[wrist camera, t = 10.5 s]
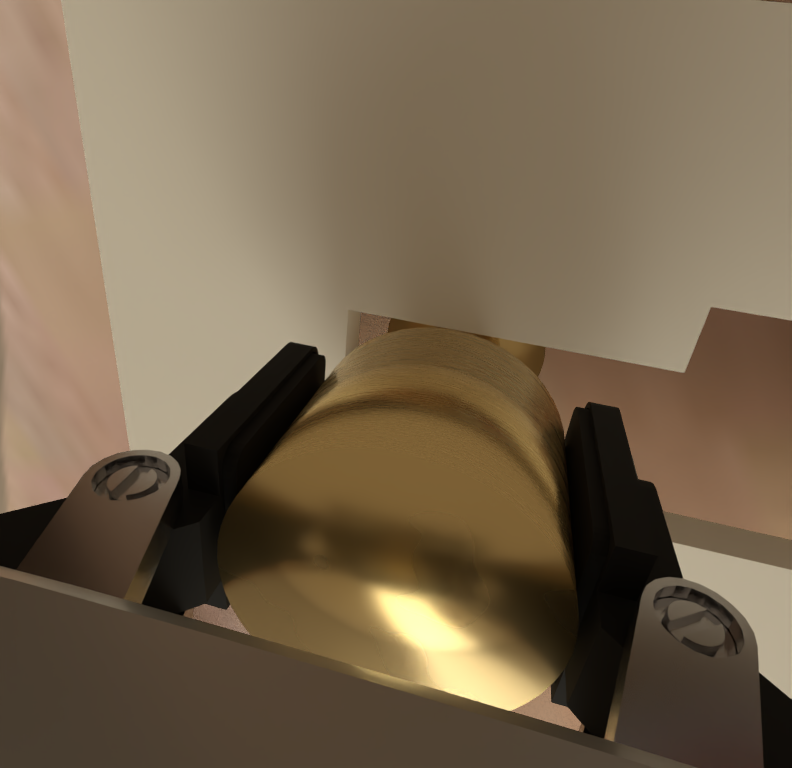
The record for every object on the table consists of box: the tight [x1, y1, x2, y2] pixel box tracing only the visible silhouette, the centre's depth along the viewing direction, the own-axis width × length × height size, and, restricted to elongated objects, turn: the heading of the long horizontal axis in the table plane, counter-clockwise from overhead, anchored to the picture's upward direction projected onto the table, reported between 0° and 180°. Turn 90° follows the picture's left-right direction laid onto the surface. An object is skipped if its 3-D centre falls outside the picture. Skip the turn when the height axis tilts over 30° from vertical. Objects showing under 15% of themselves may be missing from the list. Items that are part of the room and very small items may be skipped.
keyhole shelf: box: [61, 0, 792, 699], centre depth 17 cm, size 26×16×10 cm, turn 84°
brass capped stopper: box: [217, 318, 579, 711], centre depth 12 cm, size 5×5×10 cm
